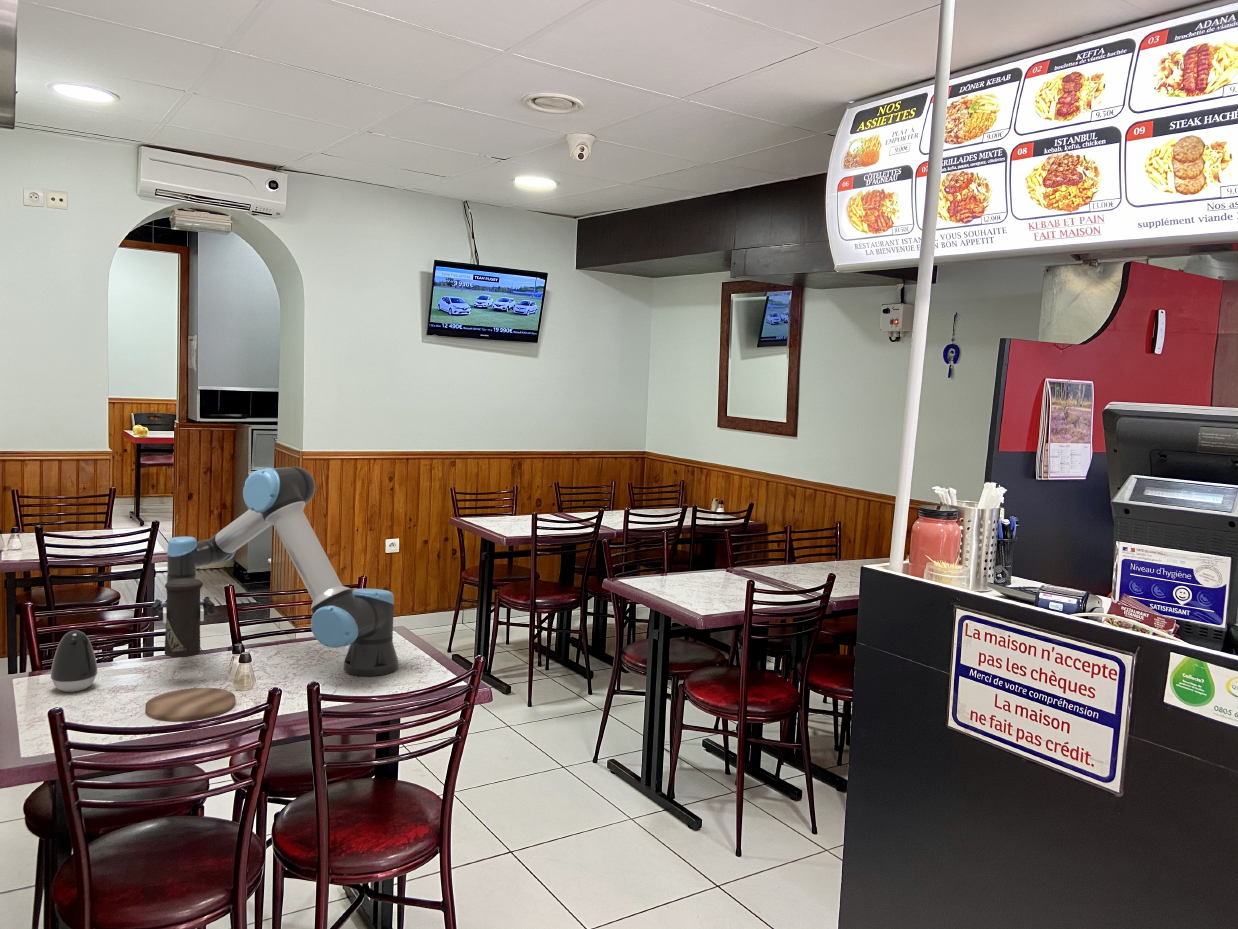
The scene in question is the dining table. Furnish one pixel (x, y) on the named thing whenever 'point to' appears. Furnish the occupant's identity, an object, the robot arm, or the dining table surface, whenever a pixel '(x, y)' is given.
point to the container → (183, 617)
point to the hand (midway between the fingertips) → (183, 617)
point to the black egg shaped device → (74, 663)
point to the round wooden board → (190, 704)
